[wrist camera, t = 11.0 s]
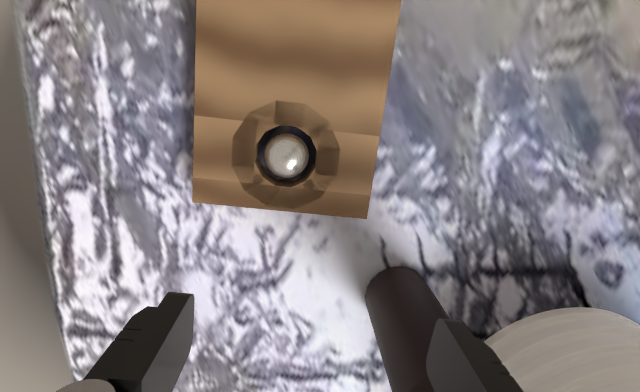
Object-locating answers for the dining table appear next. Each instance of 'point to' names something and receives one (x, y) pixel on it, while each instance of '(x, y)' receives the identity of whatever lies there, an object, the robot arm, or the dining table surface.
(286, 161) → the steel ball
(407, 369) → the bottle
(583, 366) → the plate stack
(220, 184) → the board
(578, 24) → the dining table surface
